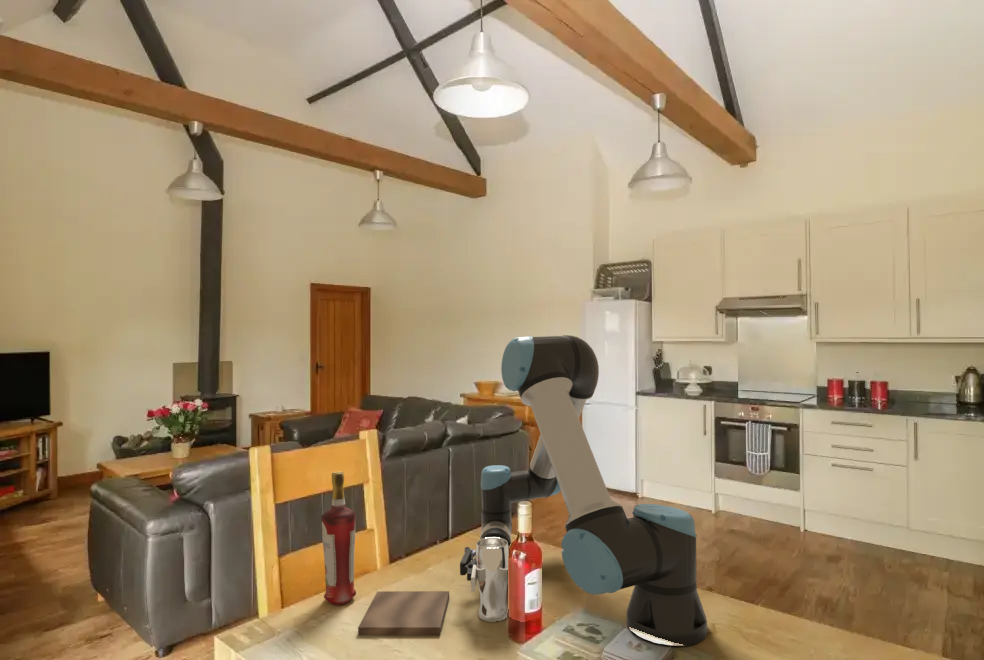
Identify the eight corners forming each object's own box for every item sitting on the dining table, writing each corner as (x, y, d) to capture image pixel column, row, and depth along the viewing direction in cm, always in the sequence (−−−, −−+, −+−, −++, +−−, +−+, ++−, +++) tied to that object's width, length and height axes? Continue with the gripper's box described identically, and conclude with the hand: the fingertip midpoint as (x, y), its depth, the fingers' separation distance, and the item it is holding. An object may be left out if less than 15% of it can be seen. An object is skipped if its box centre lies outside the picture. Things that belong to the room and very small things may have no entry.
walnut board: (449, 598, 130) (449, 591, 130) (440, 635, 114) (440, 627, 114) (377, 598, 131) (377, 591, 131) (358, 635, 115) (358, 627, 115)
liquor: (319, 597, 132) (317, 472, 132) (352, 590, 135) (350, 467, 135) (327, 611, 125) (324, 478, 125) (361, 603, 129) (358, 474, 129)
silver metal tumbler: (507, 624, 118) (505, 549, 118) (473, 622, 119) (471, 547, 119) (512, 608, 125) (511, 537, 125) (480, 606, 126) (479, 535, 126)
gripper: (537, 558, 139) (541, 603, 116) (454, 559, 140) (442, 603, 117) (536, 526, 139) (540, 564, 116) (453, 527, 140) (441, 565, 117)
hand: (491, 584), depth 117 cm, fingers closed on silver metal tumbler, 7 cm apart
